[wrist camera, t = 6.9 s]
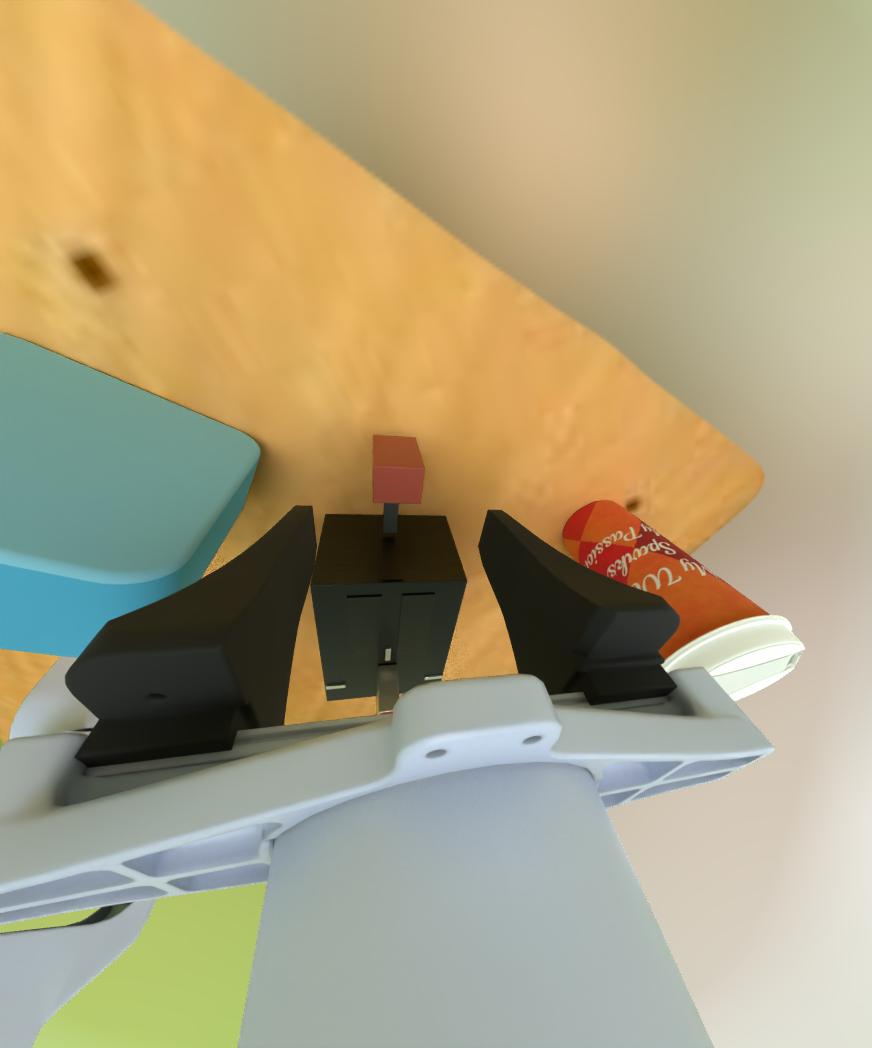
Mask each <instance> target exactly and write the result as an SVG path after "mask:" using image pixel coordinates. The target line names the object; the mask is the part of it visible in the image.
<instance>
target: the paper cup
mask: <svg viewBox="0 0 872 1048" xmlns="http://www.w3.org/2000/svg"><path fill="white" fill-rule="evenodd" d="M563 541H564V543H565V545H566V547H567V549H568V550H569V552H570V554H571V555H572V557H573V558H574V560H575V561H576V562H578V563H580V564H581V565H583V566H585V567H587V568H589V569H592V570H594V571H596V572H598V573H600V574H602V575H604V576H607V577H609V578H611V579H614V580H616V581H619V582H621V583H624V584H626V585H629V586H632V587H635V588H638V589H641V590H644V591H647V592H650V593H653V594H656V595H659V596H661V597H663V598H664V599H665V600H666V602H667V603H668V604H669V605H670V606H671V607H672V608H673V609H674V610H675V611H676V612H677V613H678V615H679V616H680V624H679V627H678V629H677V631H676V632H675V633H674V635H673V636H672V637H671V638H670V639H669V640H668V641H667V642H666V643H665V644H664V646H663V647H662V648H661V649H660V650H659V651H658V652H659V653H660V654H661V655H662V657H663V658H664V660H665V662H664V663H663V664H661V666H662V667H663V668H664V670H665V671H666V672H667V673H668V672H670V671H673V670H676V669H683V668H692V667H704V668H705V669H706V670H707V672H708V673H709V674H710V675H711V676H712V677H713V678H714V679H715V681H716V682H717V683H718V684H719V685H720V686H721V687H722V688H723V690H724V691H725V692H726V693H727V694H728V695H729V696H730V698H731V699H732V700H733V701H736V700H739V699H741V698H744V697H746V696H748V695H751V694H753V693H755V692H757V691H759V690H761V689H763V688H765V687H767V686H769V685H770V684H772V683H774V682H776V681H777V680H779V679H780V678H782V677H783V676H784V675H786V674H787V673H789V672H790V671H791V670H793V669H794V668H795V667H796V666H795V664H796V663H797V662H798V660H799V658H800V657H801V655H802V653H803V651H802V650H804V649H805V648H804V645H803V644H802V643H801V641H800V640H799V639H798V638H797V637H796V636H795V635H794V634H793V633H792V626H791V625H790V622H789V621H788V620H787V619H786V618H784V617H782V616H778V615H770V614H768V613H767V612H766V611H764V610H763V609H762V608H760V607H759V606H757V605H756V604H755V603H753V602H752V601H751V600H749V599H748V598H747V597H745V596H744V595H742V594H741V593H740V592H738V591H737V590H736V589H734V588H733V587H732V586H730V585H729V584H727V583H726V582H725V581H723V580H722V579H721V578H719V577H718V576H716V575H715V574H714V573H712V572H711V571H710V570H708V569H707V568H706V567H704V566H703V565H702V564H700V563H699V562H697V561H696V560H695V559H693V558H692V557H691V556H689V555H688V554H687V553H685V552H684V551H682V550H681V549H680V548H678V547H677V546H676V545H674V544H673V543H672V542H670V541H669V540H667V539H666V538H665V537H663V536H662V535H661V534H659V533H658V532H656V531H655V530H654V529H652V528H651V527H650V526H648V525H647V524H645V523H644V522H643V521H641V520H640V519H638V518H637V517H636V516H634V515H633V514H631V513H630V512H629V511H627V510H626V509H624V508H623V507H621V506H620V505H618V504H616V503H614V502H612V501H597V502H594V503H591V504H588V505H586V506H584V507H583V508H581V509H580V510H578V511H577V512H576V513H575V514H574V515H573V516H572V517H571V518H570V519H569V520H568V522H567V523H566V525H565V527H564V530H563Z"/></svg>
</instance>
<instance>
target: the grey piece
mask: <svg viewBox="0 0 872 1048" xmlns="http://www.w3.org/2000/svg"><path fill="white" fill-rule="evenodd" d="M398 700H399V684H398V669H397V664H394V665H382V666H378V671H377V689H376V715H381V714H390V713H393V708H394V706H395V704H396V703H397V701H398Z"/></svg>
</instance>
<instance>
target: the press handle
mask: <svg viewBox="0 0 872 1048" xmlns="http://www.w3.org/2000/svg"><path fill="white" fill-rule="evenodd" d="M424 473H425V467H424V464H423V461H422V457H421V454H420V451H419V448H418V444H417V441H416V438H413V437H398V436H383V435H373V503H384V517H383V533H396V532H397V519H398V505H399V503H408V504H421V498H422V490H423V481H424Z"/></svg>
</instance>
